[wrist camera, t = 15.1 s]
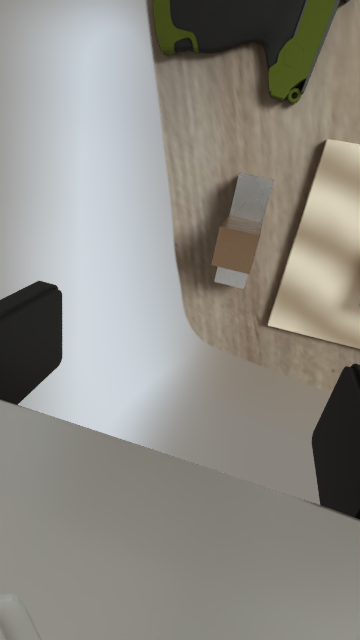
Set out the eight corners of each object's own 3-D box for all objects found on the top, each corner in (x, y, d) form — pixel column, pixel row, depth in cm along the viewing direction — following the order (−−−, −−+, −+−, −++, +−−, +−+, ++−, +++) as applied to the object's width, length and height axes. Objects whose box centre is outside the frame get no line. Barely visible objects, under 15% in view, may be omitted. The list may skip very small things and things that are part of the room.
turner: (242, 172, 32) (231, 174, 23) (273, 178, 31) (274, 183, 22) (219, 271, 36) (202, 305, 27) (246, 278, 36) (238, 314, 27)
